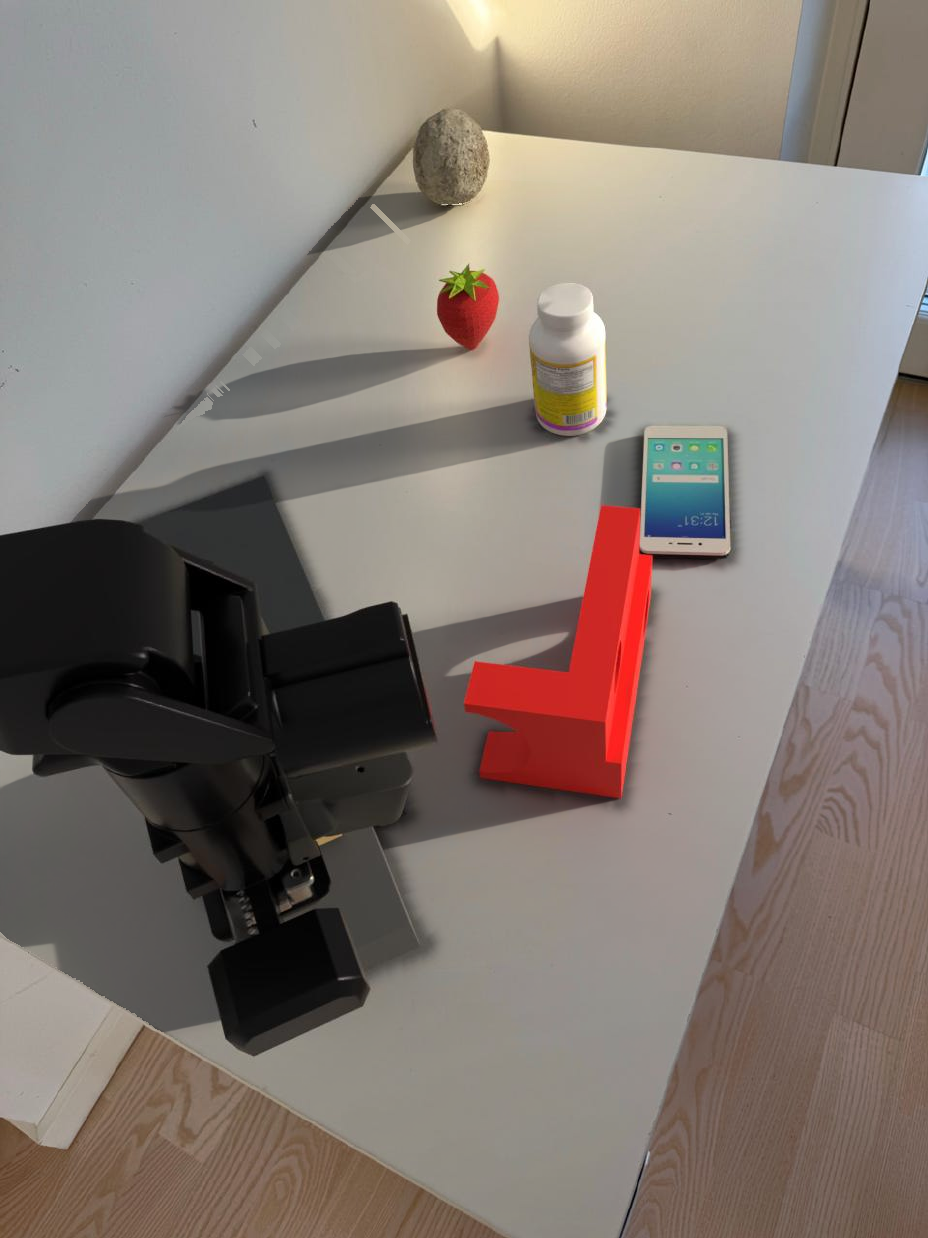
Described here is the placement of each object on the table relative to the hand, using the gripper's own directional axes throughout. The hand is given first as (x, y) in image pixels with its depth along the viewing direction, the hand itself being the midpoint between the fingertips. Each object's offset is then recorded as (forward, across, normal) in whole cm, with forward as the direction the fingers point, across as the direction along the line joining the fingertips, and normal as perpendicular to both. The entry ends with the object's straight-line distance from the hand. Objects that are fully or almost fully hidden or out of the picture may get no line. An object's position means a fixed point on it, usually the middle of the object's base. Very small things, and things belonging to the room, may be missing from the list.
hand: (290, 904), depth 55 cm
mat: (+13, +28, -1) cm, 31 cm away
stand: (+13, +4, -1) cm, 13 cm away
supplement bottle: (+13, +40, -37) cm, 56 cm away
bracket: (+13, +13, -23) cm, 30 cm away
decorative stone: (+13, +80, -42) cm, 91 cm away
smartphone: (+12, +26, -41) cm, 50 cm away
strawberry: (+13, +54, -33) cm, 64 cm away
